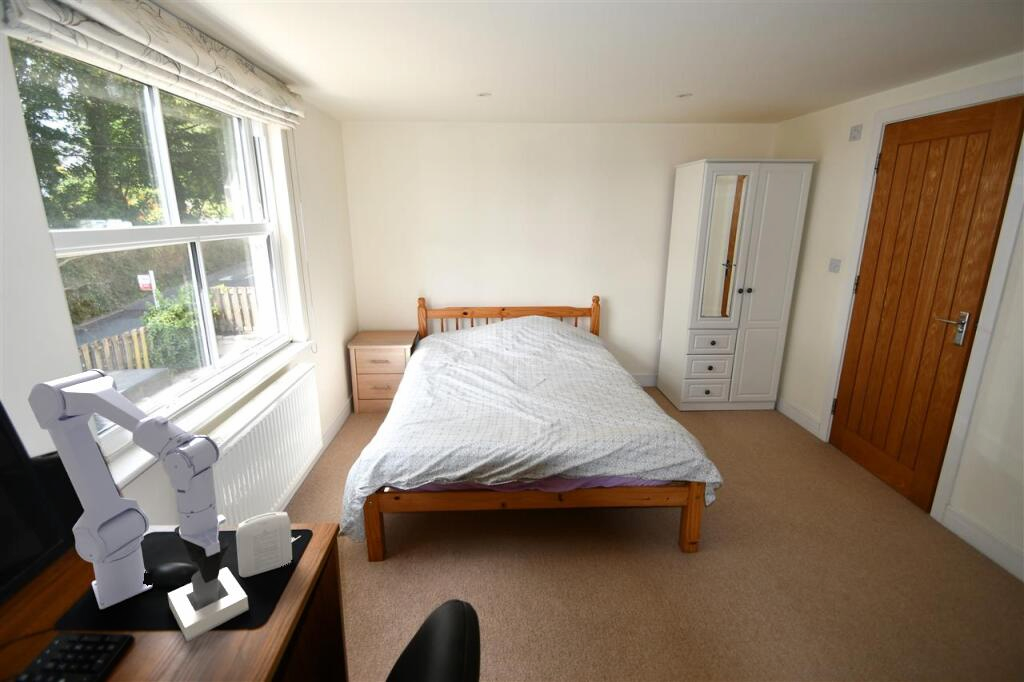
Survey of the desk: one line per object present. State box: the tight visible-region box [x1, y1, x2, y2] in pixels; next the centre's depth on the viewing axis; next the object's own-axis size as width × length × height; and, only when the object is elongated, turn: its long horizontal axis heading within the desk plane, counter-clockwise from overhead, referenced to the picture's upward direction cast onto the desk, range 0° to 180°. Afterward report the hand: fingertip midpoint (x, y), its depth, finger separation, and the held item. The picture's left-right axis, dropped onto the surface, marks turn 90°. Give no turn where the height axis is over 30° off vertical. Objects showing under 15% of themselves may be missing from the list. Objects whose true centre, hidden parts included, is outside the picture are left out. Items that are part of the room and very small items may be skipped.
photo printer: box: [235, 511, 293, 578], centre depth 98 cm, size 10×4×12 cm, turn 124°
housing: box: [167, 567, 249, 642], centre depth 88 cm, size 11×10×3 cm
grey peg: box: [191, 569, 221, 611], centre depth 87 cm, size 4×4×7 cm
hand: (204, 568), depth 86 cm, fingers open, 7 cm apart
